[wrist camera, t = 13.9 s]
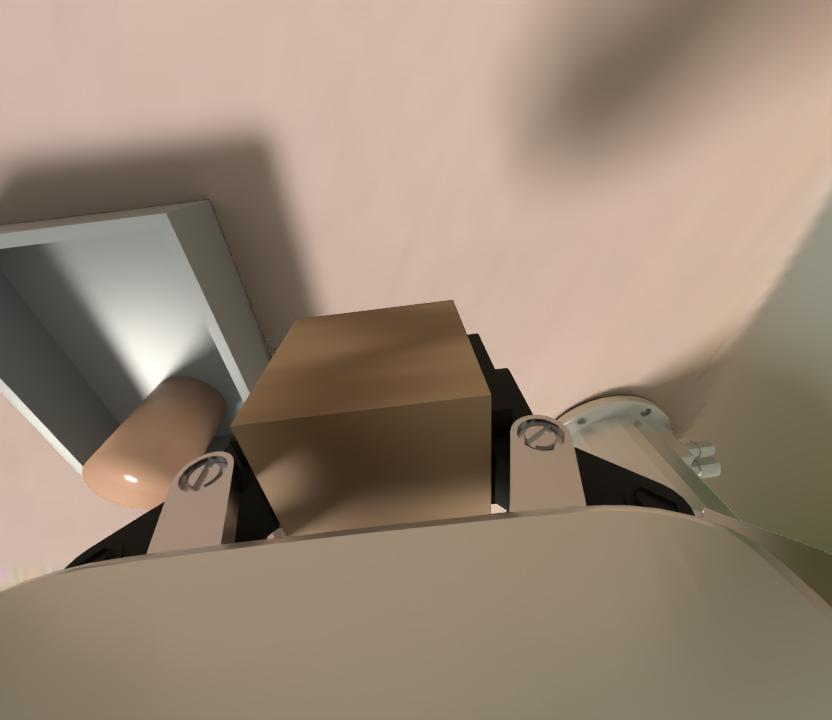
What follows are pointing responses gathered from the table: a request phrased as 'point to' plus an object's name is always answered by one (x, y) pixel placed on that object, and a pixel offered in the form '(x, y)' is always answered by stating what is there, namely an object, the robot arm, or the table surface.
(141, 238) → the grey tote
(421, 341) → the walnut cube
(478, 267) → the table surface
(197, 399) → the terracotta cylinder
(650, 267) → the table surface
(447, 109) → the table surface
